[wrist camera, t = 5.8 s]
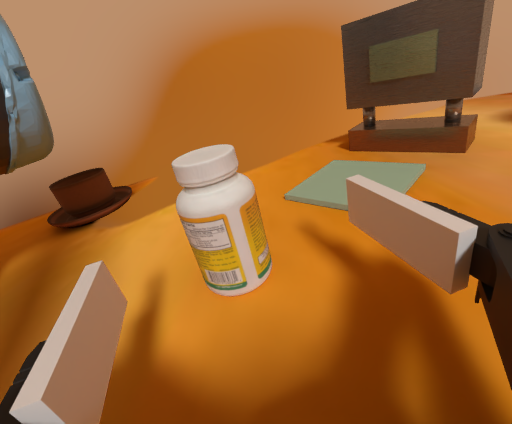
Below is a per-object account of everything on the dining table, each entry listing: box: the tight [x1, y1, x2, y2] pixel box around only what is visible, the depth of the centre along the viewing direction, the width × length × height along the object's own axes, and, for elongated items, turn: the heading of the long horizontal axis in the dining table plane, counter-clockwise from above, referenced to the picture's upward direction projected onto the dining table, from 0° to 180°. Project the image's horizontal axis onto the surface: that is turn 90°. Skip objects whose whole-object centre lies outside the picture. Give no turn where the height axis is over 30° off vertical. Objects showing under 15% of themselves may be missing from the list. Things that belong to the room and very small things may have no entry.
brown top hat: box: [47, 168, 132, 227], centre depth 40 cm, size 12×12×6 cm
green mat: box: [285, 160, 426, 211], centre depth 30 cm, size 11×11×1 cm
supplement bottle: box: [172, 145, 272, 296], centre depth 19 cm, size 5×5×10 cm
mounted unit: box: [341, 0, 494, 153], centre depth 33 cm, size 14×5×16 cm, turn 47°
